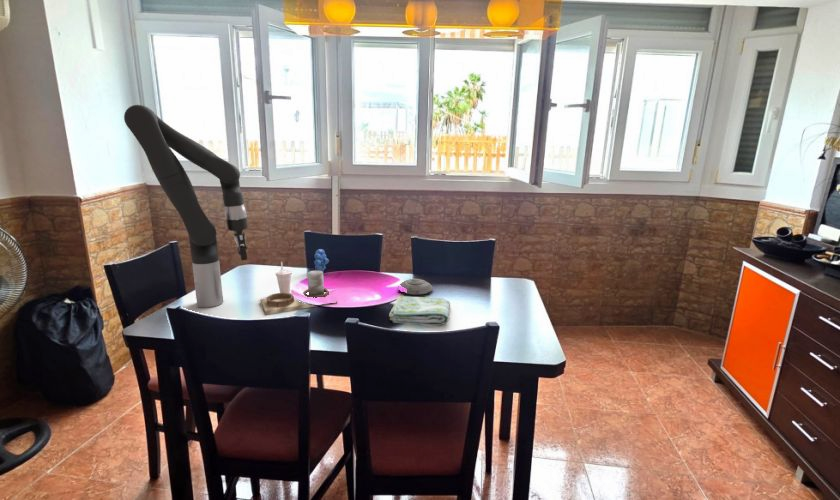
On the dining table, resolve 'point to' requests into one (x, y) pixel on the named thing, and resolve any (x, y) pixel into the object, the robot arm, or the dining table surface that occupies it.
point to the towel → (420, 311)
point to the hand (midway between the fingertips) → (243, 257)
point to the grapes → (320, 260)
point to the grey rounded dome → (417, 286)
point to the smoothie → (284, 280)
